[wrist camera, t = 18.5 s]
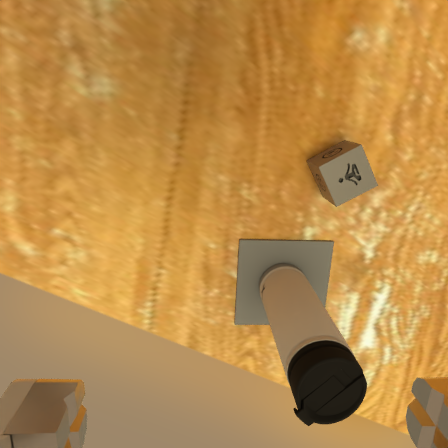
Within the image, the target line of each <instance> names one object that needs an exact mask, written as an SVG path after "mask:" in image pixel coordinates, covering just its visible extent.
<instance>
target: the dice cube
mask: <svg viewBox="0 0 448 448" xmlns="http://www.w3.org/2000/svg"><path fill="white" fill-rule="evenodd" d="M306 161H307V163H308V165H309V167H310V170H311V172H312V174H313V176H314V178H315V181H316V183H317V185H318V187H319V189H320V192H321V194H322V196H323V197H324V198H325V199H327V200H328V201H329V202H331V203H332V204H333V205H335V206H336V207H337V206H339V205H341V204H343V203H345V202H347V201H349V200H351V199H353V198H355V197H357V196H359V195H361V194H362V193H364V192H366V191H368V190H370V189H372V188H374V187H376V186H378V184H377V182H376V179H375V177H374V174H373V172H372V169H371V167H370V165H369V162H368V160H367V157H366V155H365V152H364V150H363V147H362V145H361V144H357V143H353V142H349V141H345V140H344V141H342V142H340V143H339V144H337V145H335V146H333V147H331V148H329V149H327V150H325V151H323V152H322V153H320V154H318V155H316V156H314V157H312V158H310V159H308V160H306Z"/></svg>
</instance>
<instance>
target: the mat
mask: <svg viewBox="0 0 448 448" xmlns="http://www.w3.org/2000/svg"><path fill="white" fill-rule="evenodd" d="M333 245H334V241H315V240H262V239H239V255H238V273H237V290H236V307H235V325H270V324H269V321H268V318H267V315H266V311H265V308H264V305H263V302H262V299H261V296H260V293H259V281H260V279H261V276H262V275H263V274H264V272H265V271H266V270H267V269H269V268H270V267H272V266H274V265H277V264H284V263H286V264H291V265H294V266H296V267H298V268H299V269H300V270H301V271H302V272H303V274H304V275H305V277H306V278H307V280H308V281H309V283H310V285H311V286H312V288H313V290H314V291H315V293H316V294H317V296H318V298H319V299H320V301H321V302H322V304H323V306H324V307H325V304H326V296H327V289H328V282H329V274H330V267H331V260H332V252H333Z"/></svg>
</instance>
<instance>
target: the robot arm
mask: <svg viewBox="0 0 448 448" xmlns="http://www.w3.org/2000/svg"><path fill="white" fill-rule="evenodd" d="M411 391H412V393H413V395H414V396H415V399H414V400H413V401H412V402H411V403H410V404H409V405H408V408H407V414H406V421H407V428H408V431H409V434H410V436H411V439H412V440H413V442H414V444H415V445H416V447H417V448H448V377H436V378H417V379H416V380H415V381H414V382H413V386H412V390H411ZM84 396H85V388H84V382H83V381H82V380H73V379H72V380H71V379H70V380H69V379H16V380H14V381H13V382H11V383H10V385H9V386H8V388H7V389H6V391H5V392H4V394H3V395H2V396H1V398H0V448H82V447H83V444H84V439H85V434H86V429H87V428H86V427H87V412H86V411H87V410H86V408H85V407H84V406H83V405H82V401H83V398H84Z"/></svg>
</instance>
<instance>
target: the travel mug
mask: <svg viewBox="0 0 448 448" xmlns="http://www.w3.org/2000/svg"><path fill="white" fill-rule="evenodd" d="M259 293H260V296H261V299H262V302H263V305H264V308H265V311H266V315H267V318H268V321H269V324H270V327H271V330H272V333H273V336H274V339H275V343H276V346H277V349H278V352H279V355H280V358H281V361H282V364H283V367H284V370H285V374H286V376H287V380H288V382H289V384H290V386H291V390H292V393H293V396H294V399H295V402H296V405H297V408H298V410H297V409H296V408H294V412H295V414H296V416H297V417H298V418H299V419H300V420H301V421H302V422H304V423H305V424H306V425H308V426H310V425H311V424H313V423H318V424H332V423H336V422H339V421H342V420H344V419H345V418H347V417H349V416H350V415H351V414H353V413H354V412H355V411H356V410H357V409H358V407H359V406H360V404H361V403H362V401H363V399H364V397H365V394H366V390H367V382H366V379H365V376H364V374H363V370H362V368H361V367H360V365H359V363H358V362H357V360H356V359H355V357H354V354H353V352H352V351H351V350H350V348H349V346H348V344H347V343H346V341H345V340H344V338H343V336H342V335H341V333H340V331H339V330H338V328H337V327H336V325H335V323H334V322H333V320H332V319H331V317H330V315H329V314H328V312H327V311H326V309H325V307H324V306H323V304H322V302H321V301H320V299H319V298H318V296H317V294H316V293H315V291H314V290H313V288H312V286H311V285H310V283H309V281H308V280H307V278H306V277H305V275H304V274H303V272H302V271H301V270H300V269H299V268H298V267H296V266H294V265H291V264H286V263H284V264H277V265H274V266H272V267H270V268H269V269H267V270H266V271H265V272H264V274H263V275H262V276H261V279H260V281H259Z"/></svg>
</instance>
